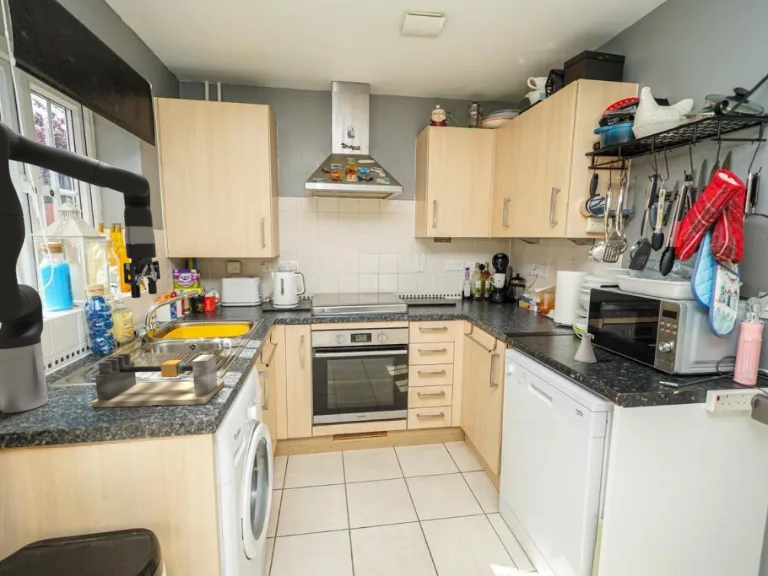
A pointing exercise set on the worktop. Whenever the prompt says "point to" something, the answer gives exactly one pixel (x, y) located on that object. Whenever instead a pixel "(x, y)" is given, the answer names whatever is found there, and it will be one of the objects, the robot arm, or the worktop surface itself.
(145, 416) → the worktop surface
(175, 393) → the cord board
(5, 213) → the robot arm
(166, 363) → the sleeve
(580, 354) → the flask
